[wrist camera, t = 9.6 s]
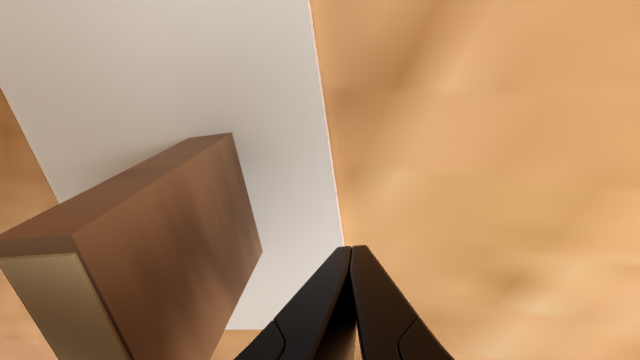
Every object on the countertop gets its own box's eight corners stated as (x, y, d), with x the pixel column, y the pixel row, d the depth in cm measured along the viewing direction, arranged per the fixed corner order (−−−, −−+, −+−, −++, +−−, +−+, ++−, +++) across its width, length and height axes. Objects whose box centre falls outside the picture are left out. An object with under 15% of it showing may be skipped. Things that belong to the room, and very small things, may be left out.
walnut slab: (262, 251, 15) (171, 438, 8) (225, 253, 16) (103, 435, 8) (231, 132, 13) (66, 237, 6) (188, 137, 14) (-19, 244, 6)
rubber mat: (355, 319, 17) (354, 328, 17) (129, 323, 20) (122, 331, 19) (297, -85, 11) (293, -93, 10) (-31, -6, 13) (-48, -8, 12)
